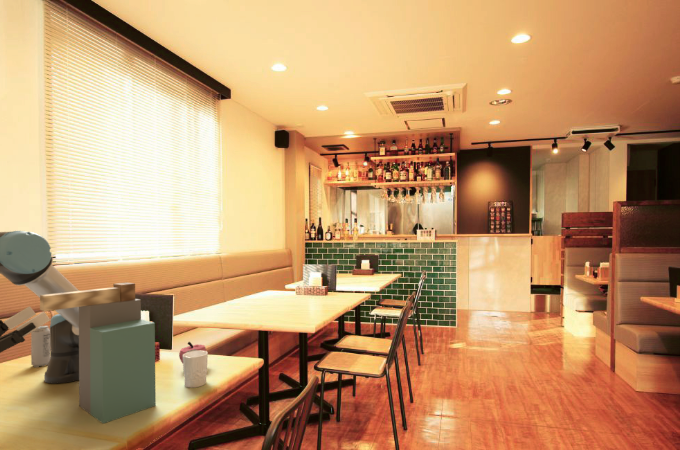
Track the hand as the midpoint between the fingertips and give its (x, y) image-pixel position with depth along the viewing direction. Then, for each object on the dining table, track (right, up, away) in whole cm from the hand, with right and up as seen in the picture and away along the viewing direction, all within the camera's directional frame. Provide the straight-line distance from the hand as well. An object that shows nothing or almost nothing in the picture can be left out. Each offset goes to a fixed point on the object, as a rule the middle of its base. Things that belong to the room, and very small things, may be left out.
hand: (39, 312), depth 107 cm
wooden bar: (+7, 0, +10) cm, 12 cm away
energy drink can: (-38, -32, +51) cm, 71 cm away
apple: (+26, -30, +42) cm, 58 cm away
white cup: (+32, -30, +26) cm, 51 cm away
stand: (+15, -30, +10) cm, 35 cm away
